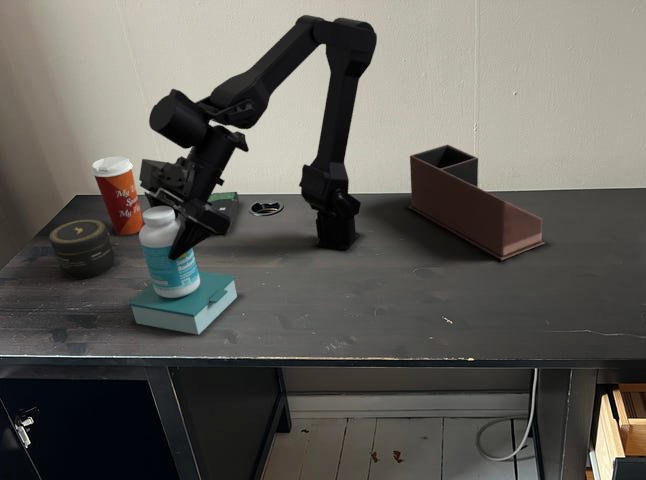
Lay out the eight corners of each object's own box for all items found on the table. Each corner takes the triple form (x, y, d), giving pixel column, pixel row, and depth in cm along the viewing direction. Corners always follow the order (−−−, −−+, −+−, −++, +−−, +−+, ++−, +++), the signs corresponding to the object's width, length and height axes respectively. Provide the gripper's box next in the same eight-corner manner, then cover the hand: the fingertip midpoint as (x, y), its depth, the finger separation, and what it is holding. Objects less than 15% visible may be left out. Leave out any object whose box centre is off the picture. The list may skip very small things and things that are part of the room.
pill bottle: (193, 299, 117) (173, 222, 109) (148, 300, 117) (125, 223, 109) (206, 275, 123) (188, 200, 115) (163, 276, 123) (142, 202, 115)
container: (244, 297, 125) (240, 277, 123) (205, 337, 116) (200, 315, 114) (177, 286, 130) (172, 266, 127) (134, 323, 120) (128, 303, 118)
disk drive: (229, 234, 145) (239, 202, 157) (227, 222, 144) (237, 190, 156) (177, 238, 145) (191, 205, 157) (174, 225, 144) (188, 193, 156)
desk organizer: (448, 194, 156) (448, 142, 149) (545, 244, 136) (549, 186, 129) (408, 208, 151) (405, 155, 144) (501, 262, 131) (503, 203, 124)
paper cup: (137, 238, 146) (118, 170, 138) (102, 236, 147) (81, 169, 139) (155, 220, 152) (138, 155, 144) (122, 219, 153) (102, 154, 145)
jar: (95, 250, 142) (84, 214, 138) (128, 263, 138) (117, 225, 133) (50, 272, 136) (36, 235, 131) (83, 286, 131) (69, 248, 127)
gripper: (135, 123, 114) (89, 212, 115) (195, 152, 102) (142, 251, 103) (192, 157, 122) (148, 239, 123) (252, 187, 111) (204, 278, 112)
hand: (159, 251), depth 115 cm, fingers closed on pill bottle, 7 cm apart
